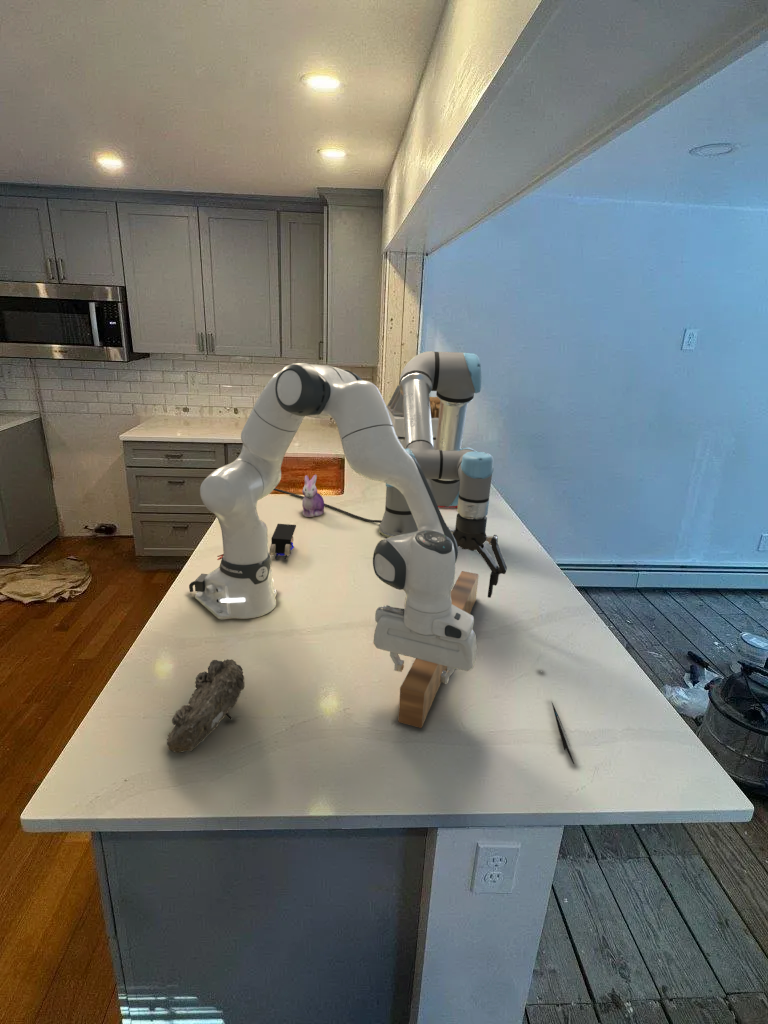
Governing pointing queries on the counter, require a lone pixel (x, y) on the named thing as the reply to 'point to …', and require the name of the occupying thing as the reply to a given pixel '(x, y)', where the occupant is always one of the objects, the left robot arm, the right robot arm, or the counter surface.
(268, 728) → the counter surface
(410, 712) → the post
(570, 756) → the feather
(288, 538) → the figurine character
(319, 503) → the figurine
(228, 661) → the fossil
